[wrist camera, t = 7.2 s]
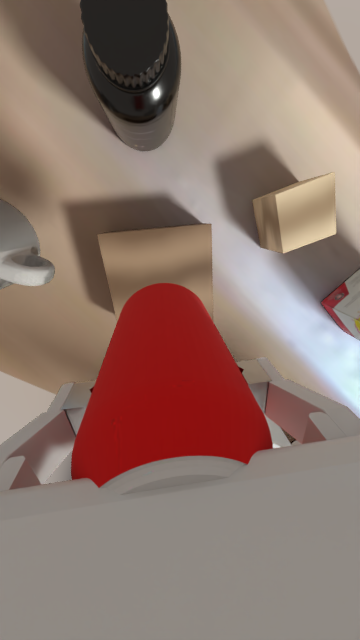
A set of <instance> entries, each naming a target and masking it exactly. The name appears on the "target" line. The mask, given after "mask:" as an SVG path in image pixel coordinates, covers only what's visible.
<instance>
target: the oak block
mask: <svg viewBox="0 0 360 640" xmlns="http://www.w3.org/2000/svg"><path fill="white" fill-rule="evenodd" d="M252 203H253V208H254V214H255V219H256V225H257V231H258V236H259V242H260V247H261V248H264V249H268V250H272V251H276V252H279V253H286V252H289V251H291V250H294V249H297V248H300V247H302V246H305V245H308V244H310V243H313V242H316V241H318V240H321V239H324V238H326V237H329V236H332V235H335V234H336V206H335V172H332V173H329V174H325V175H322V176H318V177H314V178H311V179H307V180H304V181H300V182H297V183H295V184H292V185H289V186H287V187H284V188H282V189H279V190H277V191H274V192H271V193H269V194H266V195H264V196H261V197H259V198H256V199H253V200H252Z"/></svg>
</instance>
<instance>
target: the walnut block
mask: <svg viewBox="0 0 360 640" xmlns="http://www.w3.org/2000/svg"><path fill="white" fill-rule="evenodd" d="M97 237H98V241H99V246H100V250H101V254H102V259H103V263H104V268H105V272H106V276H107V281H108V285H109V289H110V294H111V298H112V303H113V307H114V311H115V316H116V320H117V322H118V319H119V316H120V313H121V311H122V308H123V306H124V305H125V303H126V302H127V300H128V299H129V298H130V297H131V296H132V295H133V294H134V293H136V292H137V291H138V290H140V289H142V288H144V287H146V286H149V285H152V284H157V283H172V284H177V285H181V286H183V287H185V288H187V289H189V290H191V291H192V292H193V293H195V294H196V295H197V296H198V297H199V298H200V300H201V301H202V303H203V304H204V306H205V308H206V310H207V312H208V313H209V315H210V317H211V319H212V321H213V286H212V232H211V224H204V223H201V224H191V225H180V226H169V227H158V228H147V229H136V230H126V231H115V232H106V233H102V234H97Z"/></svg>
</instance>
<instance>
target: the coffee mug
mask: <svg viewBox="0 0 360 640" xmlns="http://www.w3.org/2000/svg"><path fill="white" fill-rule="evenodd" d="M54 273H55V268H54V265H53V264H52V263H51V262H50V261H48V260H46V259H44V258H42V257H40V245H39V240H38V237H37V235H36V233H35V231H34V229H33V227H32V225H31V224H30V223H29V221H28V220H27V218H26V217H25V216H24V215H23V214H22V213H21V212H20V211H19V210H17V209H16V208H15V207H13V206H12V205H10V204H9V203H7V202H5V201H3V200H1V199H0V289H2V288H5V287H7V286H9V285H11V284H14V283H16V284H20V285H26V286H39V285H43V284H46V283H48V282H50V281H51V279H52V278H53V276H54Z"/></svg>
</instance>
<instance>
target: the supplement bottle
mask: <svg viewBox="0 0 360 640" xmlns="http://www.w3.org/2000/svg"><path fill="white" fill-rule="evenodd" d="M80 8H81V11H82V14H81V19H82V23H83V25H84V28H83V36H82V51H83V60H84V65H85V70H86V73H87V76H88V79H89V82H90V84H91V87H92V89H93V91H94V93H95V95H96V97H97V99H98V101H99V103H100V104H101V106H102V108H103V110H104V112H105V114H106V116H107V118H108V119H109V121H110V123H111V125H112V127H113V129H114V130H115V132H116V134H117V135H118V136H119V138H120V139H121V140H122V141H123V142H124V143H125V144H127V145H128V146H129V147H131V148H133V149H136V150H139V151H150V150H153V149H156V148H158V147H159V146H161V145H162V144H163V143H164V142H165V141H166V139H167V138H168V136H169V134H170V132H171V130H172V127H173V124H174V119H175V112H176V105H177V98H178V91H179V84H180V76H181V52H180V45H179V40H178V36H177V33H176V30H175V27H174V24H173V22H172V20H171V18H170V16H169V14H168V12H167V3H166V0H81V2H80Z"/></svg>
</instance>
